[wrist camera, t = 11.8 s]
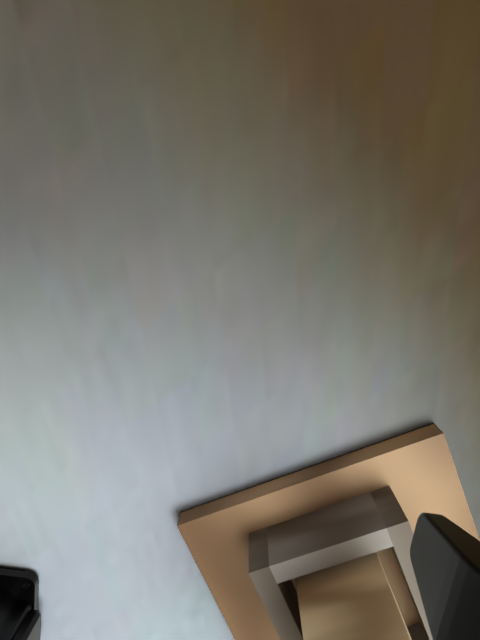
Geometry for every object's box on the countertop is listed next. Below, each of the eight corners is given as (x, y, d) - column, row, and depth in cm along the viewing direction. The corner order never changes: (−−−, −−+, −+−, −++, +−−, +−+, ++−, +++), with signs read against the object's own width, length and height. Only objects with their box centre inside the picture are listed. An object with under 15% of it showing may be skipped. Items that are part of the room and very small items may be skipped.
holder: (269, 689, 25) (272, 764, 21) (180, 512, 22) (167, 564, 19) (501, 621, 23) (545, 689, 20) (434, 423, 21) (471, 462, 17)
